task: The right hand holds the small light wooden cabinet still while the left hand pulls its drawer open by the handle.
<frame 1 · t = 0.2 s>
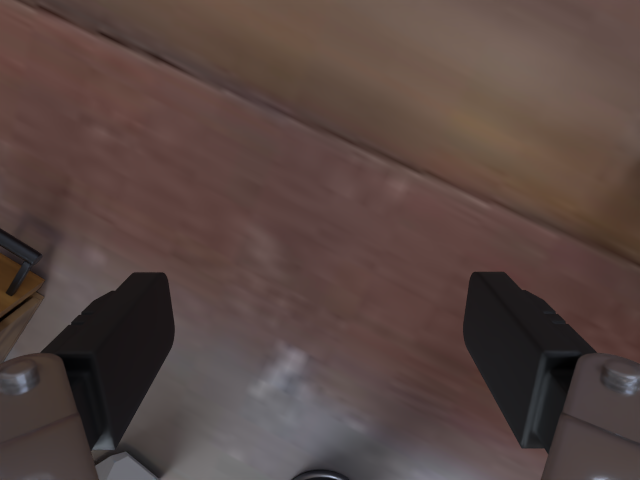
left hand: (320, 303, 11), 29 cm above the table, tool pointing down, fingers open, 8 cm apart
electronic device: (113, 479, 53), on the table
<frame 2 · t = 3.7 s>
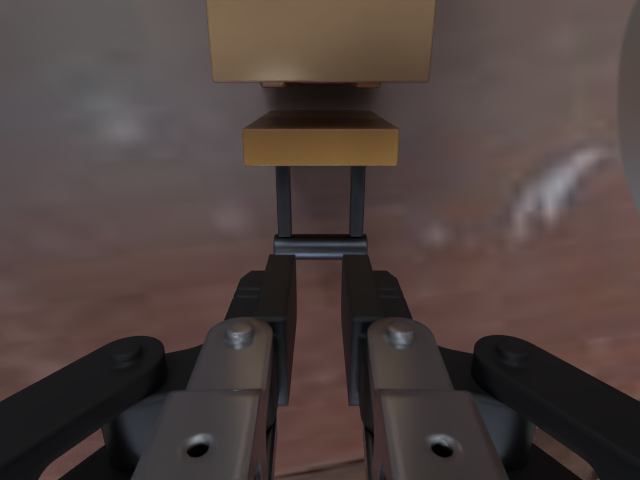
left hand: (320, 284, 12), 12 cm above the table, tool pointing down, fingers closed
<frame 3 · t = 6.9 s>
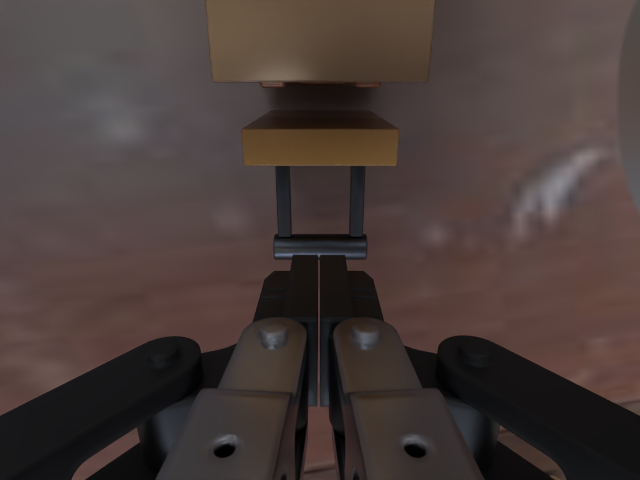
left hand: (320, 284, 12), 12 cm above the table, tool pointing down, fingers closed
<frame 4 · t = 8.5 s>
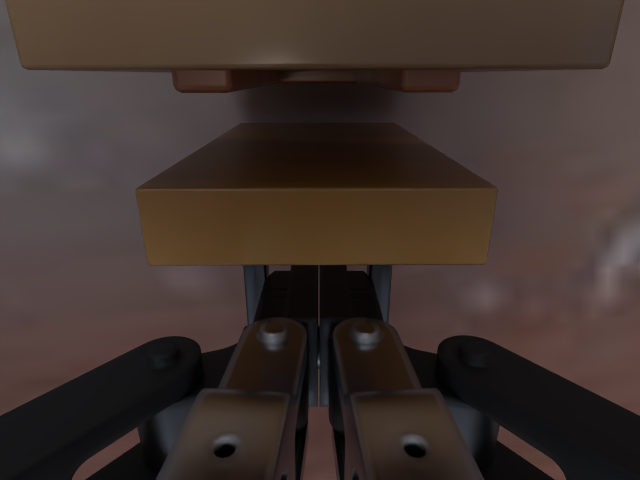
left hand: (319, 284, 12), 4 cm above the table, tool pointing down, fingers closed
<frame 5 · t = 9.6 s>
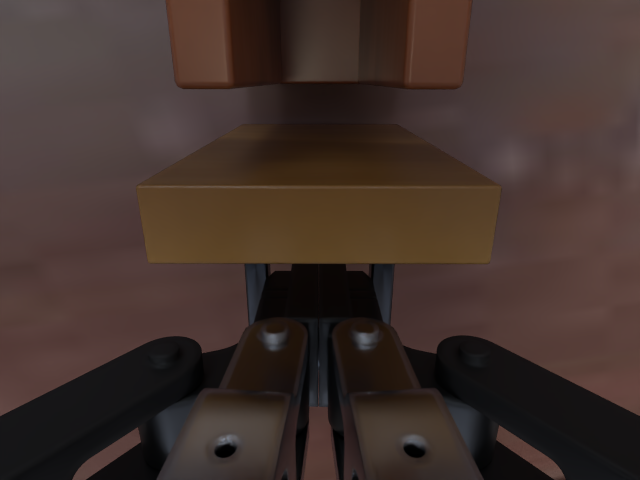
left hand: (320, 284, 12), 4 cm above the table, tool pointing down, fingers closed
when the right hand's fingers open (4 cm above the table, at t = 11.2 s): cabinet stays where it is, on the table.
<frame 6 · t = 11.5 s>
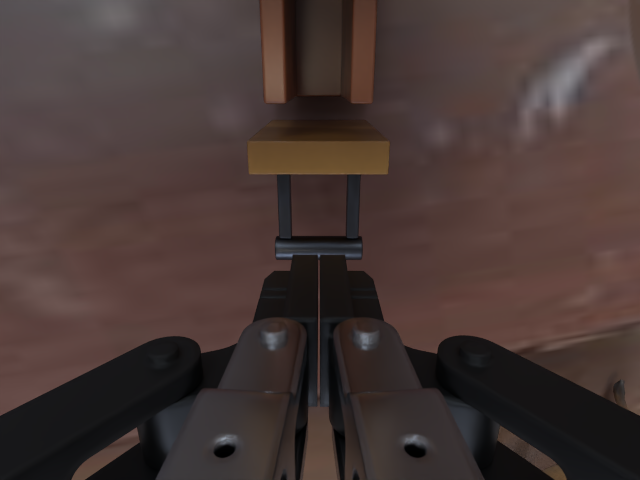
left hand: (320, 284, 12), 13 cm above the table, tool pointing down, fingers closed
lion figurine: (536, 442, 32), on the table
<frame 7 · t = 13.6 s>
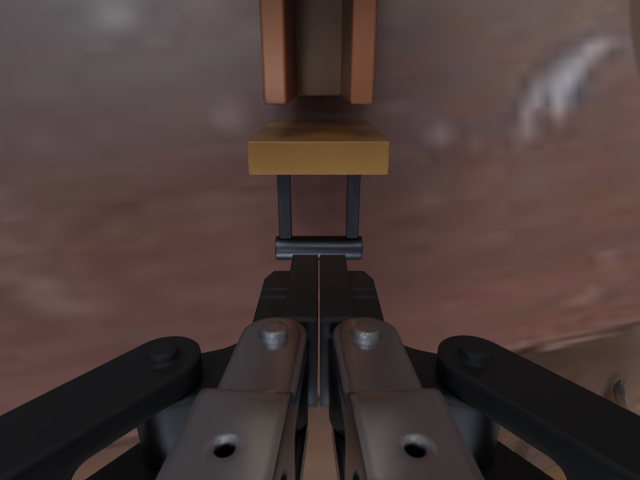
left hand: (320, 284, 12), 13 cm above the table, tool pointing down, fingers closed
lion figurine: (536, 442, 32), on the table
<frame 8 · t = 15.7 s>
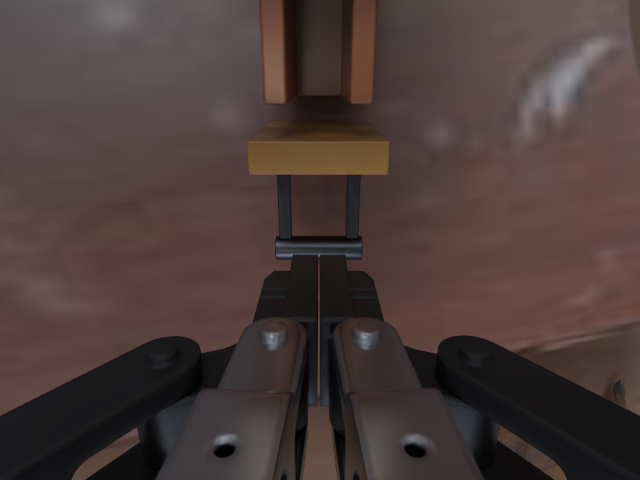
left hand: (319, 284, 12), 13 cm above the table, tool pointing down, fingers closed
lion figurine: (536, 442, 32), on the table
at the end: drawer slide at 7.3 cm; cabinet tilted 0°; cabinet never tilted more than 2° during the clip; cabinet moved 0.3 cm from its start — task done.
